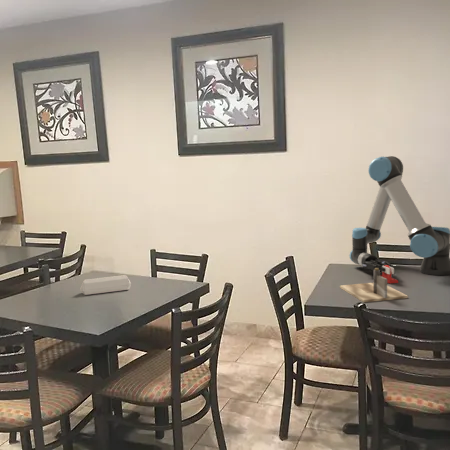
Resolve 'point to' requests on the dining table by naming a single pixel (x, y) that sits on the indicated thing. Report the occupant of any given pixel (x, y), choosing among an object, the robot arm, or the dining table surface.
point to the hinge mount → (373, 290)
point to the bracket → (389, 276)
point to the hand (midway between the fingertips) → (391, 271)
